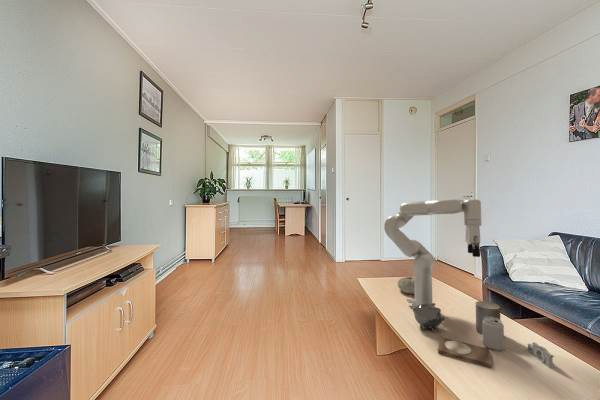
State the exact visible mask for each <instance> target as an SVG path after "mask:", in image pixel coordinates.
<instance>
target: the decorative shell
mask: <svg viewBox="0 0 600 400" xmlns="http://www.w3.org/2000/svg"><path fill="white" fill-rule="evenodd" d="M397 287H398V289H399V290H400V291H401V292H403V293H405V294H410V295H415V287H414V277H413V276H405V277H401V278H399V279H398V281H397Z"/></svg>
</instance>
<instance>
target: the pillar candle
mask: <svg viewBox="0 0 600 400" xmlns="http://www.w3.org/2000/svg"><path fill="white" fill-rule="evenodd" d="M484 317H494V318H497V319H499V320H501V307H500V305H499V304H497V303H495V302H491V301H487V300H486V301H485V300H478V301H476V302H475V326H476V327H475V330H476V332H477V333H478V334H480V335H482V336H483V329H482V321H483V320H484Z"/></svg>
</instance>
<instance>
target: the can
mask: <svg viewBox="0 0 600 400" xmlns="http://www.w3.org/2000/svg"><path fill="white" fill-rule="evenodd" d="M504 328H505V327H504V324H503V321H502V319H500V320H499V319H497V318H494V317H484V320H483V321H482V329H483V335H482V344H483V345H484V346H485V348H488V349H489V350H493V351H502V350H503V349H505V338H504V337H505V334H504V333H505V332H504Z"/></svg>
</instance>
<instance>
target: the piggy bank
mask: <svg viewBox="0 0 600 400" xmlns="http://www.w3.org/2000/svg"><path fill="white" fill-rule="evenodd" d="M412 312H413V315H414V319H415V321H416V322H417V323H418V324H419V325H420V326H421V327H422V330H424V331H426V330H427V329H428V328H431V330H432V331H436V330H437V327H438V326H440V325H441V324H442V323H443V322H444V321H445V316H444V315H443V314H442V313H441V312H442V309H441V308H440V307H436V303H434V302H432V303H431V304H419V305H417V306H416V307H415V308H412Z"/></svg>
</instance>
